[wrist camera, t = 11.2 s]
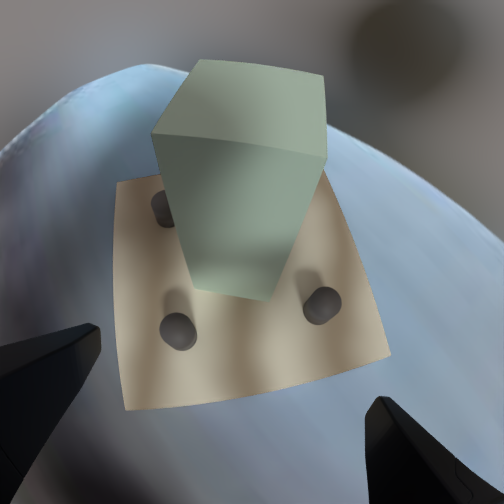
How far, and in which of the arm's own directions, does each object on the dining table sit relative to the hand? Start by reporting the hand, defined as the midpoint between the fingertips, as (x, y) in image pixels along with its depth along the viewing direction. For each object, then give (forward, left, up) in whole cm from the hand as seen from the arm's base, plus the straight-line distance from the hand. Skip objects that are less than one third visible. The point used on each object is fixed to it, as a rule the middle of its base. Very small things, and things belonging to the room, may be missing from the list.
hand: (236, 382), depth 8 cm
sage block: (+2, +8, -10) cm, 13 cm away
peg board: (+2, +8, -11) cm, 13 cm away
